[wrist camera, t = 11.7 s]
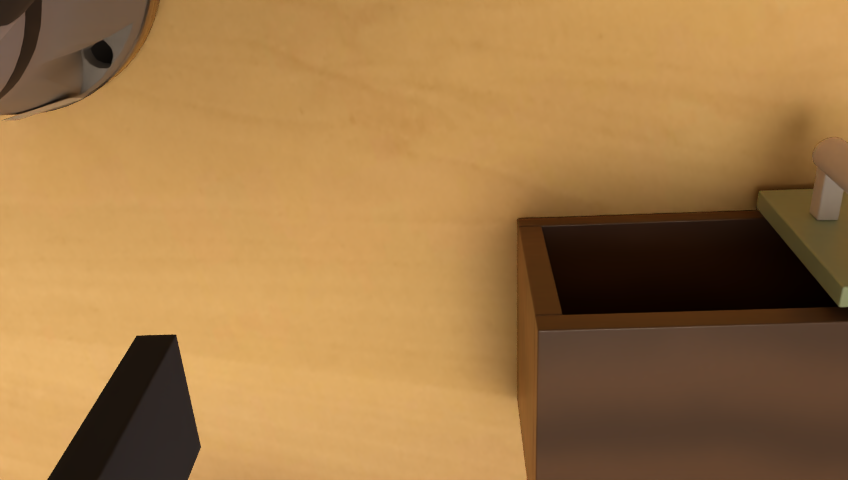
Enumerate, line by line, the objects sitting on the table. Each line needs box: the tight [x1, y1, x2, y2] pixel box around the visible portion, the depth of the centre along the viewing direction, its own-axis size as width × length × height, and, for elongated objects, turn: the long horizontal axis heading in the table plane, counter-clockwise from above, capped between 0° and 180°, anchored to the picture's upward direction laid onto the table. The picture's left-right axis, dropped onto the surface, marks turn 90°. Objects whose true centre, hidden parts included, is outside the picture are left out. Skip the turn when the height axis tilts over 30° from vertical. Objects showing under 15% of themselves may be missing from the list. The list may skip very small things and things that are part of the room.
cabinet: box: [517, 210, 848, 480], centre depth 41 cm, size 12×28×11 cm, turn 93°
